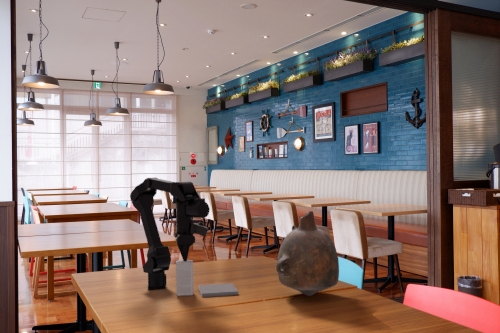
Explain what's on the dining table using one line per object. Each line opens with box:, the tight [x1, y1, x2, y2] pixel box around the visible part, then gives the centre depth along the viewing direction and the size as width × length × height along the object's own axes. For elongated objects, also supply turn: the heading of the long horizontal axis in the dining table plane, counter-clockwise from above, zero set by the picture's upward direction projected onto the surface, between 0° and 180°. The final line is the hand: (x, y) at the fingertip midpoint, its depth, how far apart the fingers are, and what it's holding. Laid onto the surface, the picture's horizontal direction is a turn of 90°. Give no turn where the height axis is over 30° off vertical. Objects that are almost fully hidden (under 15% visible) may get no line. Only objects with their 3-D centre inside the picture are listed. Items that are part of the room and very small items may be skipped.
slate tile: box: [198, 282, 239, 298], centre depth 181 cm, size 13×13×1 cm
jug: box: [275, 210, 340, 297], centre depth 173 cm, size 24×21×30 cm
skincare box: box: [175, 259, 195, 297], centre depth 177 cm, size 6×4×12 cm
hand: (184, 260), depth 177 cm, fingers open, 4 cm apart
